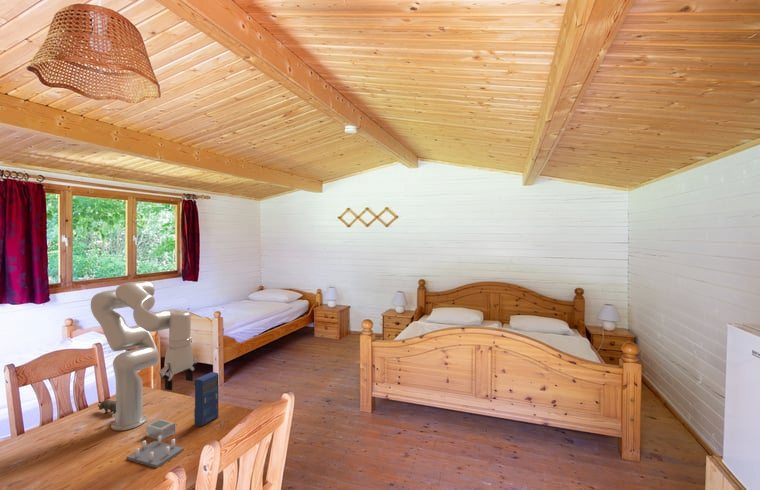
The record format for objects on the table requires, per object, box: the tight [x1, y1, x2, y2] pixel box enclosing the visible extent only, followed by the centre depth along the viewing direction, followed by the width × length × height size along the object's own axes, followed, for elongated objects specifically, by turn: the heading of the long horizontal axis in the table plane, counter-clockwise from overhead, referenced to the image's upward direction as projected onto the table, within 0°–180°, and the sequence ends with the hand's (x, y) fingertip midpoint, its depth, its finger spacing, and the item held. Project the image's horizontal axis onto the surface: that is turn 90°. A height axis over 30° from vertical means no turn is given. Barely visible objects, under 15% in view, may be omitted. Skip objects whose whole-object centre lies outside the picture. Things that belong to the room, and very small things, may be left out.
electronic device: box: [193, 371, 220, 427], centre depth 156 cm, size 10×5×20 cm, turn 159°
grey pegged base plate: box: [126, 436, 185, 469], centre depth 131 cm, size 15×11×4 cm
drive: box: [145, 418, 176, 442], centre depth 145 cm, size 9×6×5 cm, turn 68°
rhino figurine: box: [97, 398, 116, 416], centre depth 164 cm, size 4×14×6 cm, turn 73°
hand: (179, 385), depth 143 cm, fingers open, 9 cm apart
